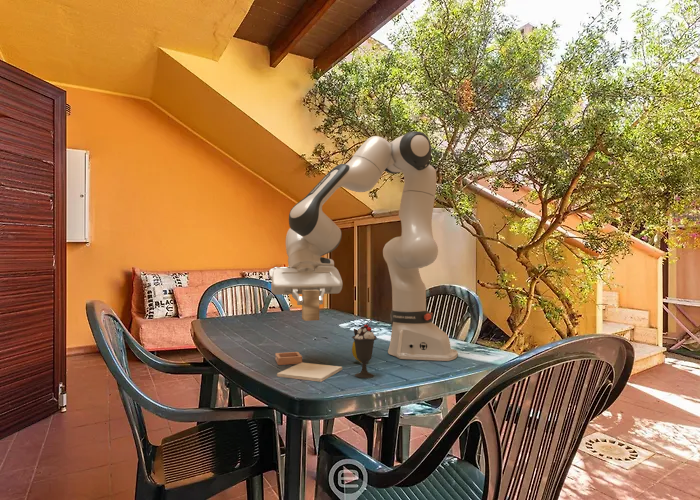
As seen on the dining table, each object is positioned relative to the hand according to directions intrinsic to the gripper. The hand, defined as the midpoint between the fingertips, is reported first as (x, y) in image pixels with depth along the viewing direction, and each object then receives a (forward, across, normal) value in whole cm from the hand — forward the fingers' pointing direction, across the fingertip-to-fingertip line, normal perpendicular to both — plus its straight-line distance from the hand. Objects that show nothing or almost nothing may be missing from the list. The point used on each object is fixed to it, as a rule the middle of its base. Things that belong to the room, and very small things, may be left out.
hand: (310, 303), depth 113 cm
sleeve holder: (+3, -4, +24) cm, 24 cm away
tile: (+13, 0, +13) cm, 19 cm away
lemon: (+9, +17, +18) cm, 26 cm away
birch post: (+3, 0, +3) cm, 4 cm away
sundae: (+18, +13, +8) cm, 24 cm away
